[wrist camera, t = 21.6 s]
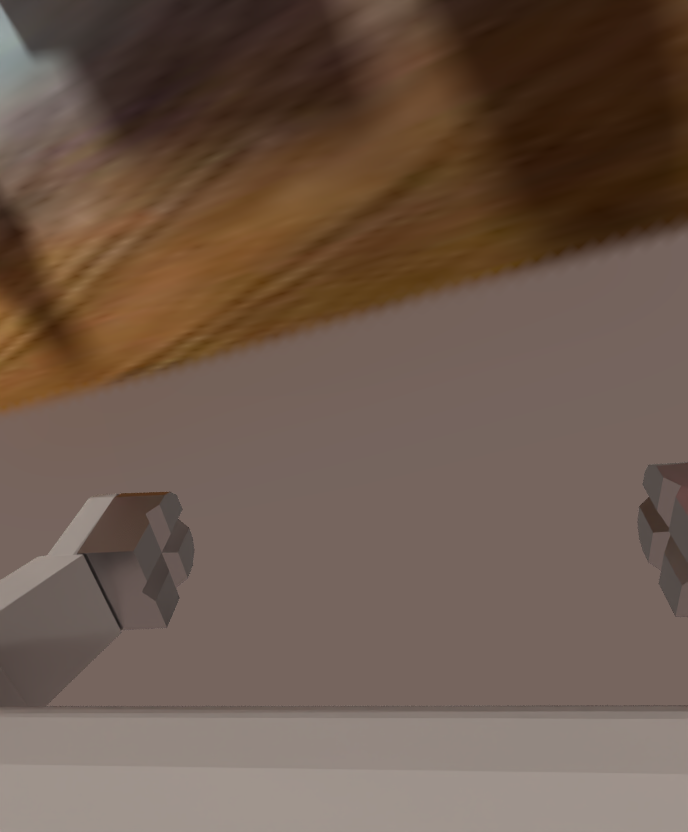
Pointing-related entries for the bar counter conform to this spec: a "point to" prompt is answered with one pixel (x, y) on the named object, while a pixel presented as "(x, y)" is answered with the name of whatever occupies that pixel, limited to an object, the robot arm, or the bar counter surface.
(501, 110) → the bar counter surface
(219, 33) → the bar counter surface
